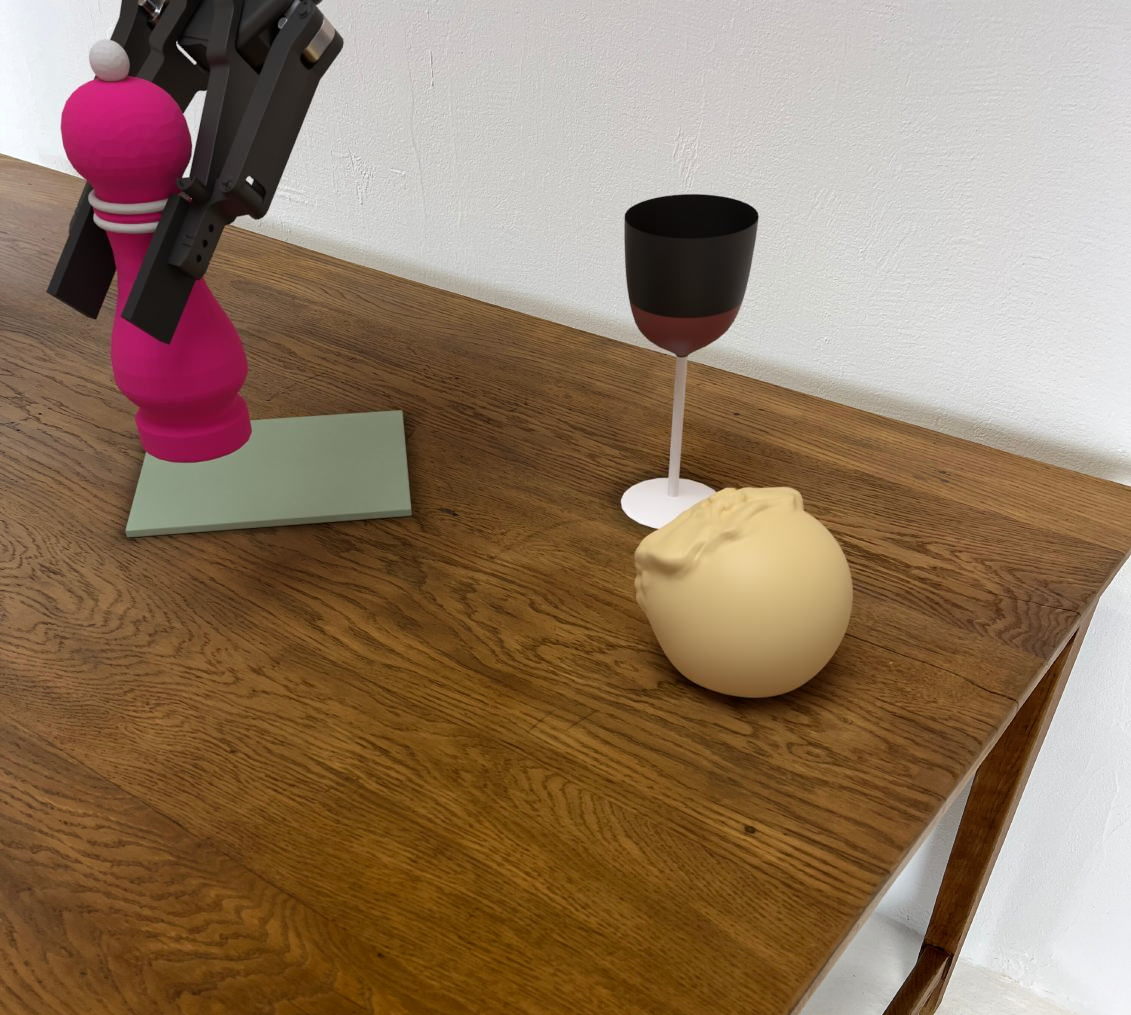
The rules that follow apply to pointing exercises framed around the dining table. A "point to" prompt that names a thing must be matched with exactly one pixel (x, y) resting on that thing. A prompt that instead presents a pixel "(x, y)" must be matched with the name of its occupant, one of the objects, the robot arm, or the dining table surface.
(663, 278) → the wineglass
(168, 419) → the pepper mill
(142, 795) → the dining table surface
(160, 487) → the placemat
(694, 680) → the sculpture
